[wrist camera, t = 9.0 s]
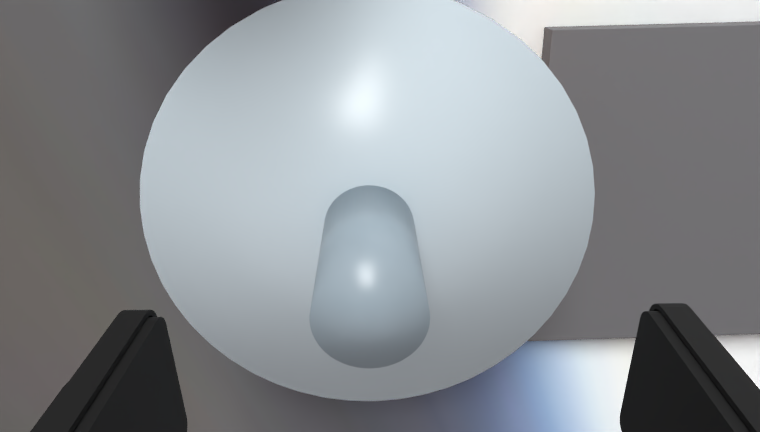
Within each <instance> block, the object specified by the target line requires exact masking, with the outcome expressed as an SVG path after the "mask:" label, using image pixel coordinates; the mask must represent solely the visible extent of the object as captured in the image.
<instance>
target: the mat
mask: <svg viewBox="0 0 760 432" xmlns="http://www.w3.org/2000/svg"><path fill="white" fill-rule="evenodd" d="M542 60H543V62H544V63H545V64H546V65H547V67H548V68H549V69H550V71H551V72H552V73H553V74H554V76H555V77H556V78H557V80H558V81H559V82H560V83H561V85H562V86H563V88H564V90H565V92H566V93H567V95H568V97H569V99H570V101H571V102H572V104H573V106H574V108H575V109H576V111H577V114H578V116H579V119H580V122H581V124H582V127H583V130H584V132H585V135H586V137H587V141H588V146H589V150H590V155H591V159H592V164H593V174H594V188H595V199H594V212H593V222H592V227H591V232H590V236H589V241H588V245H587V249H586V251H585V254H584V257H583V260H582V262H581V265H580V268H579V270H578V273H577V275H576V276H575V278H574V280H573V282H572V284H571V286H570V288H569V290H568V292H567V294H566V295H565V297H564V298H563V300H562V301H561V302H560V304H559V305H558V307H557V308H556V310H555V311H554V312H553V314H552V315H551V316H550V318H549V319H548V320H547V321H546V322H545V323H544V324H543V325H542V326H541V328H540V329H539V330H538V331H537V332H536V333H535V334H534V335H533V336H532V337H531V338H530V339H529V340H527V341H544V340H577V339H609V338H636V335H637V331H638V326H639V321H640V317H641V314H642V313H643V312H644V311H649V309H650V307H651V306H652V305H653V304H655V303H684V304H687V305H688V306H689V307H690V308H691V309H692V310H693V311H694V312H695V314H696V315H697V316H698V317H699V318H700V320H701V321H702V322H703V323H704V324H705V325H706V327H707V328H708V329H709V330H710V331H711V333H712V334H713V335H738V334H760V22H726V23H688V24H649V25H611V26H572V27H545V30H544V41H543V52H542Z"/></svg>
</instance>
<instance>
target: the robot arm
mask: <svg viewBox="0 0 760 432" xmlns="http://www.w3.org/2000/svg"><path fill="white" fill-rule="evenodd" d="M620 426H621V430H622V432H760V389H759V388H758V387H757V386H756V385H755V383H754V382H753V381H752V380H751V379H750V378H749V376H748V375H747V374H746V373H745V372H744V370H743V369H742V368H741V367H740V366H739V365H738V363H737V362H736V361H735V360H734V359H733V357H732V356H731V355H730V354H729V353H728V351H727V350H726V349H725V348H724V347H723V346H722V344H721V343H720V342H719V341H718V340H717V338H716V337H715V336H714V335H713V334H712V333H711V331H710V330H709V329H708V328H707V327H706V325H705V324H704V323H703V322H702V321H701V320H700V318H699V317H698V316H697V315H696V314H695V312H694V311H693V310H692V309H691V308H690V307H689V306H688V305H687V304H684V303H655V304H653V305H652V306H651V307H650V309H649V311H644V312H643V313H642V314H641V317H640V321H639V326H638V331H637V335H636V340H635V345H634V350H633V355H632V360H631V365H630V369H629V374H628V379H627V384H626V389H625V394H624V398H623V403H622V408H621V413H620ZM31 432H187V417H186V412H185V408H184V403H183V399H182V394H181V390H180V385H179V381H178V376H177V372H176V367H175V362H174V358H173V353H172V349H171V344H170V340H169V335H168V331H167V326H166V322H165V320H164V318H162V317H157V316H156V313H155V312H154V311H153V310H124V311H121V312H120V313H119V314H118V315H117V317H116V318H115V319H114V321H113V322H112V323H111V325H110V326H109V328H108V329H107V330H106V332H105V333H104V334H103V336H102V337H101V338H100V340H99V341H98V343H97V344H96V345H95V347H94V348H93V349H92V351H91V352H90V353H89V355H88V356H87V358H86V359H85V360H84V362H83V363H82V364H81V366H80V367H79V368H78V370H77V371H76V373H75V374H74V375H73V377H72V378H71V379H70V381H69V382H68V383H67V384H66V385H65V386H64V387H63V388H62V390H61V391H60V392H59V394H58V395H57V396H56V398H55V399H54V400H53V402H52V403H51V405H50V406H49V407H48V409H47V410H46V411H45V413H44V414H43V415H42V417H41V418H40V419H39V421H38V422H37V424H36V425H35V426H34V428H33V429H32V430H31Z"/></svg>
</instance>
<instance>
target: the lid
mask: <svg viewBox="0 0 760 432" xmlns="http://www.w3.org/2000/svg"><path fill="white" fill-rule="evenodd" d="M594 199H595V188H594V174H593V164H592V159H591V155H590V150H589V146H588V141H587V137H586V135H585V132H584V130H583V127H582V124H581V122H580V119H579V116H578V114H577V111H576V109H575V108H574V106H573V104H572V102H571V101H570V99H569V97H568V95H567V93H566V92H565V90H564V88H563V86H562V85H561V83H560V82H559V81H558V80H557V78H556V77H555V76H554V74H553V73H552V72H551V71H550V69H549V68H548V67H547V65H546V64H545V63H544V62H543V60H542V59H541V58H539V57H538V56H537V55H536V54H535V53H534V52H533V51H532V50H531V49H530V48H529V47H528V46H527V45H526V44H525V43H524V42H523V41H522V40H521V39H520V38H518V37H517V36H515V35H514V34H512V33H511V32H510V31H508V30H507V29H505V28H504V27H503V26H501V25H500V24H498V23H497V22H496V21H494V20H493V19H491V18H489V17H487V16H485V15H483V14H481V13H479V12H477V11H475V10H473V9H471V8H469V7H467V6H465V5H463V4H461V3H459V2H457V1H454V0H282V1H279V2H277V3H274V4H272V5H269V6H267V7H264V8H262V9H260V10H259V11H257V12H255V13H254V14H252V15H250V16H248V17H247V18H245V19H243V20H241V21H240V22H238V23H236V24H234V25H233V26H231V27H230V28H229V29H227V30H226V31H225V32H224V33H222V34H221V35H220V36H219V37H217V38H216V39H215V40H213V41H212V42H211V43H210V44H208V45H207V46H206V47H205V48H204V49H203V50H202V51H201V52H200V53H199V54H198V55H197V56H196V58H195V59H194V60H193V61H192V62H191V63H190V64H189V65H188V66H187V67H186V68H185V69H184V70H183V72H182V73H181V75H180V76H179V78H178V79H177V81H176V82H175V84H174V85H173V86H172V88H171V89H170V91H169V92H168V94H167V95H166V97H165V99H164V101H163V103H162V105H161V107H160V109H159V111H158V114H157V116H156V118H155V120H154V122H153V125H152V128H151V131H150V134H149V137H148V141H147V144H146V147H145V150H144V157H143V163H142V170H141V176H140V210H141V217H142V224H143V231H144V236H145V239H146V243H147V246H148V250H149V253H150V256H151V260H152V262H153V264H154V266H155V269H156V271H157V273H158V275H159V278H160V280H161V282H162V284H163V286H164V287H165V289H166V291H167V292H168V294H169V296H170V297H171V299H172V301H173V302H174V304H175V305H176V307H177V308H178V309H179V311H180V312H181V313H182V314H183V315H184V317H185V318H186V319H187V320H188V322H189V323H190V324H191V325H192V327H193V328H194V329H195V330H196V331H198V332H199V333H200V334H201V335H202V336H203V337H204V338H205V339H206V340H207V341H208V342H209V343H210V344H211V345H212V346H214V347H215V348H216V349H217V350H219V351H220V352H221V353H223V354H224V355H225V356H226V357H228V358H229V359H230V360H232V361H234V362H235V363H237V364H239V365H240V366H242V367H244V368H245V369H247V370H248V371H250V372H252V373H254V374H256V375H258V376H260V377H262V378H264V379H267V380H269V381H271V382H273V383H275V384H278V385H281V386H284V387H287V388H290V389H293V390H296V391H298V392H302V393H307V394H311V395H315V396H320V397H324V398H332V399H340V400H349V401H383V400H395V399H403V398H408V397H414V396H419V395H425V394H428V393H431V392H435V391H438V390H442V389H445V388H448V387H451V386H453V385H456V384H458V383H461V382H463V381H466V380H468V379H470V378H473V377H475V376H476V375H478V374H480V373H482V372H484V371H486V370H487V369H489V368H491V367H493V366H495V365H496V364H498V363H499V362H500V361H502V360H503V359H505V358H506V357H508V356H509V355H510V354H512V353H513V352H515V351H516V350H517V349H518V348H519V347H521V346H522V345H523V344H524V343H525V342H526V341H527V340H529V339H530V338H531V337H532V336H533V335H534V334H535V333H536V332H537V331H538V330H539V329H540V328H541V326H542V325H543V324H544V323H545V322H546V321H547V320H548V319H549V318H550V316H551V315H552V314H553V312H554V311H555V310H556V308H557V307H558V305H559V304H560V302H561V301H562V300H563V298H564V297H565V295H566V294H567V292H568V290H569V288H570V286H571V284H572V282H573V280H574V278H575V276H576V275H577V273H578V270H579V268H580V265H581V262H582V260H583V257H584V254H585V251H586V249H587V245H588V241H589V236H590V232H591V227H592V222H593V212H594Z"/></svg>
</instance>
